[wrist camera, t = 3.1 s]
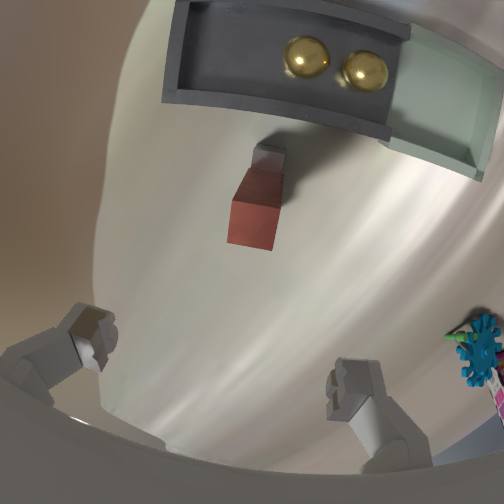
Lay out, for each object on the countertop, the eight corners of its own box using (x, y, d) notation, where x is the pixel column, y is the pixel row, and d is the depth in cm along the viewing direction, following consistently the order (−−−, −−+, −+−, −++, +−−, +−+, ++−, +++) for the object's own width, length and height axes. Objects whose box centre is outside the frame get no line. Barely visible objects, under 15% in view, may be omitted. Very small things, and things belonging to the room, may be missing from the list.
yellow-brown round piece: (286, 36, 19) (285, 27, 16) (330, 44, 19) (336, 37, 16) (279, 75, 21) (278, 72, 18) (323, 83, 21) (328, 82, 18)
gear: (510, 333, 30) (489, 397, 27) (482, 333, 36) (460, 392, 33) (479, 295, 30) (454, 369, 27) (448, 299, 35) (422, 365, 33)
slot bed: (189, -2, 18) (177, -11, 16) (399, 33, 18) (411, 27, 15) (174, 100, 24) (161, 103, 21) (379, 136, 23) (389, 142, 21)
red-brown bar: (255, 143, 25) (235, 173, 16) (287, 149, 25) (285, 182, 16) (245, 206, 28) (224, 264, 20) (275, 211, 28) (267, 272, 19)
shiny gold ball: (342, 47, 19) (350, 41, 16) (383, 59, 19) (397, 55, 16) (335, 86, 21) (343, 86, 18) (376, 98, 21) (389, 99, 18)
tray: (399, 28, 18) (412, 22, 15) (488, 71, 17) (506, 72, 15) (378, 141, 23) (387, 148, 21) (466, 172, 23) (481, 182, 21)
